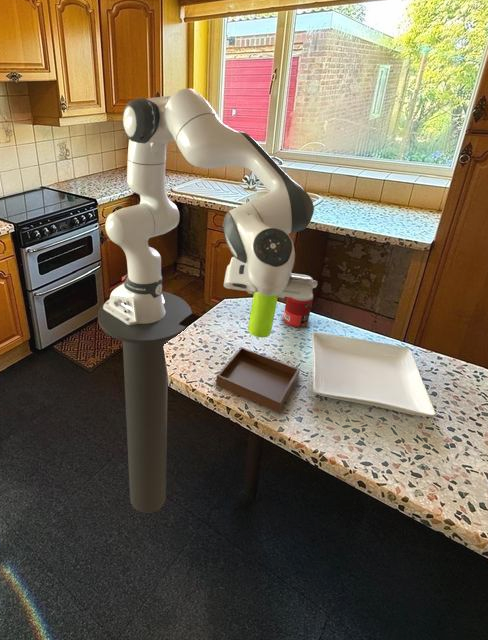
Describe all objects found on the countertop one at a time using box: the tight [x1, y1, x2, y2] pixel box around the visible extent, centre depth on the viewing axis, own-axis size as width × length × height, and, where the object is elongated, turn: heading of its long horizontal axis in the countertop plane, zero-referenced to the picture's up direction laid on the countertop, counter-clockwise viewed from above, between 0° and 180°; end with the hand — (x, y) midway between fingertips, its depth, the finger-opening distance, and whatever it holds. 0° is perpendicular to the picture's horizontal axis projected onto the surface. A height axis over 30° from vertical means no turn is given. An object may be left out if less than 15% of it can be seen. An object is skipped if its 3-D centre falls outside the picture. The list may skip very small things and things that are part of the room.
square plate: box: [310, 331, 437, 418], centre depth 108 cm, size 27×27×4 cm
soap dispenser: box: [247, 292, 278, 339], centre depth 99 cm, size 6×7×20 cm
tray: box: [215, 346, 301, 414], centre depth 107 cm, size 17×15×3 cm
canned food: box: [283, 293, 314, 329], centre depth 131 cm, size 8×8×11 cm
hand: (266, 292), depth 100 cm, fingers closed on soap dispenser, 6 cm apart
